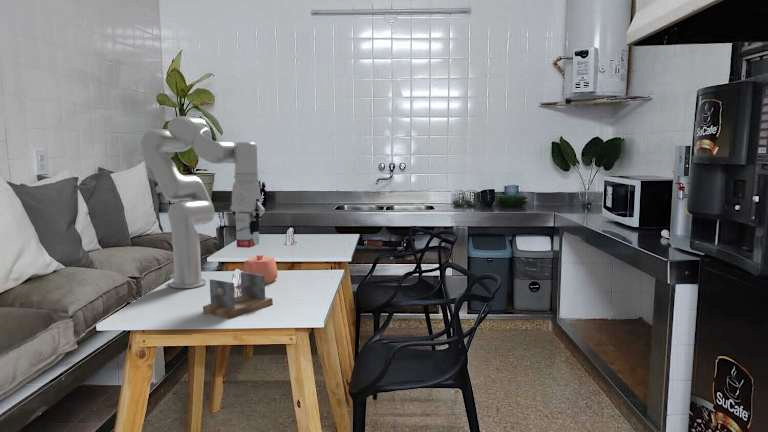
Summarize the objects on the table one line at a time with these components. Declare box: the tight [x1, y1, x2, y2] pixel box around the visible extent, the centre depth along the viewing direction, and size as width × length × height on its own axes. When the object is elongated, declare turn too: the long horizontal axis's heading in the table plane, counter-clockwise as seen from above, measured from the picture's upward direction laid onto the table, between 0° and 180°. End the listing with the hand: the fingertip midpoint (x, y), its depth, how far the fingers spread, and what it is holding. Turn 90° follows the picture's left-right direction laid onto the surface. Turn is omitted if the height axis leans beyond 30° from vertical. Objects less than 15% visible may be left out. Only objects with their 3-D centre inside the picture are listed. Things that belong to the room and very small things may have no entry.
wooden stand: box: [202, 271, 274, 319], centre depth 182 cm, size 12×18×10 cm, turn 147°
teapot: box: [242, 254, 279, 285], centre depth 218 cm, size 12×18×10 cm, turn 169°
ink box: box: [235, 212, 260, 249], centre depth 196 cm, size 9×5×12 cm, turn 168°
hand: (247, 230), depth 196 cm, fingers closed on ink box, 6 cm apart
